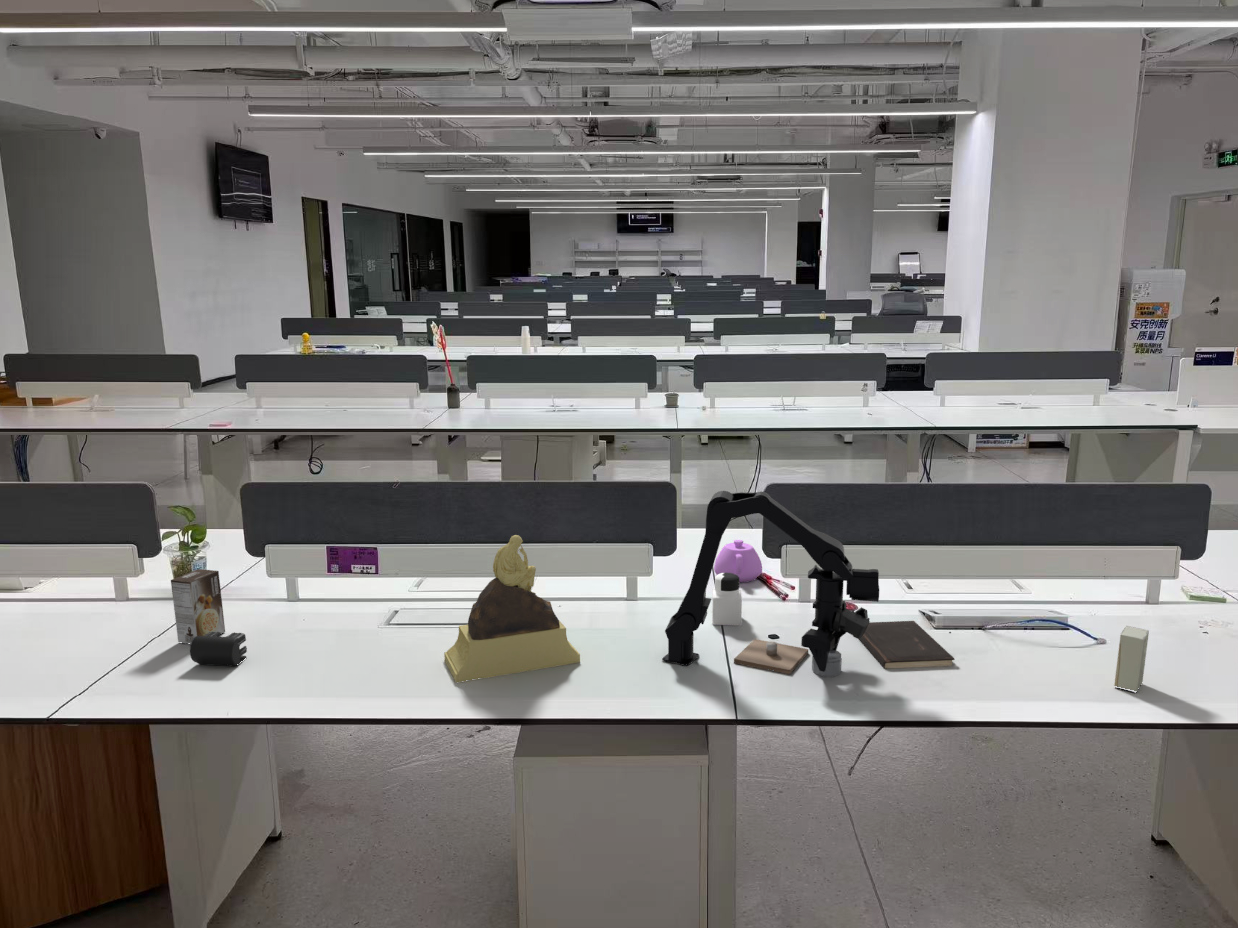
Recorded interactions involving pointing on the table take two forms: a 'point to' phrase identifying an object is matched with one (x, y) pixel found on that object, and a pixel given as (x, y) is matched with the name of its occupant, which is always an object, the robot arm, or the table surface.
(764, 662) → the stud plate
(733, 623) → the medicine bottle
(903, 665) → the hardcover book
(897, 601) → the table surface
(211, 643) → the end cap
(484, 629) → the seated figure statue
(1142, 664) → the skincare box
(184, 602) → the coffee box
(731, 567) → the teapot
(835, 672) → the grey short cylinder
